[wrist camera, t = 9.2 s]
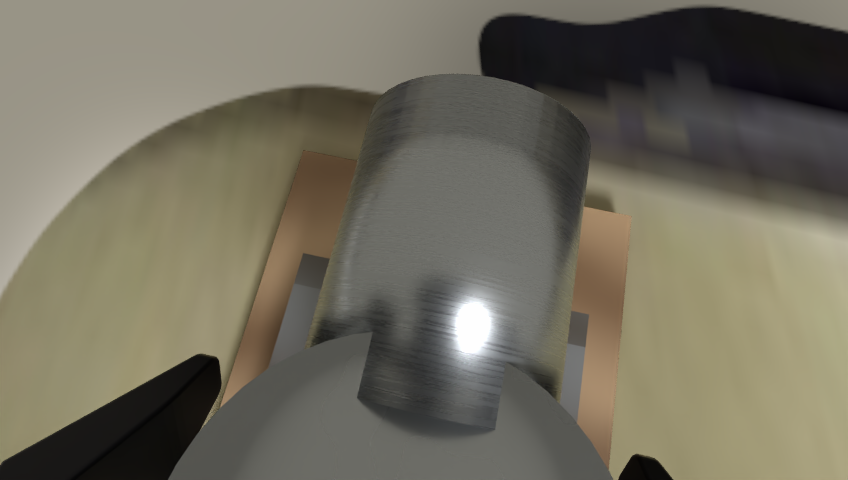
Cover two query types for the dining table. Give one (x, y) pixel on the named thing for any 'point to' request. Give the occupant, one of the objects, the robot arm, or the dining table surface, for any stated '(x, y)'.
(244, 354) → the base
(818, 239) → the dining table surface
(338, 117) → the dining table surface
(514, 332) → the duct elbow
